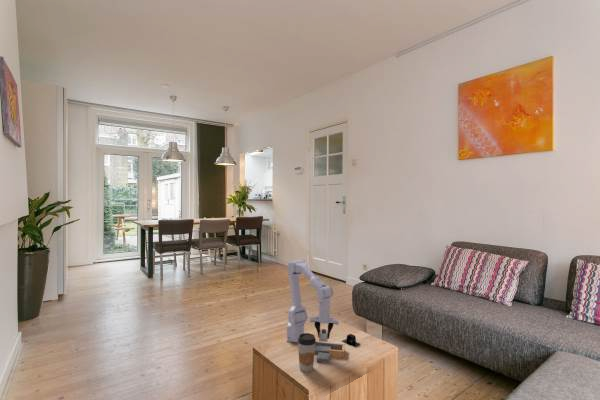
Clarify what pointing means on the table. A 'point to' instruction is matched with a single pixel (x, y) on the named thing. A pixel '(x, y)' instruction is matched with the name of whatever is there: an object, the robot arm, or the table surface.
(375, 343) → the table surface
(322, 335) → the metal block
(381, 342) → the table surface
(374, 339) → the table surface
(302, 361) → the coffee cup
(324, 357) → the gray square block
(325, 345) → the rail
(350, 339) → the black boxy piece
